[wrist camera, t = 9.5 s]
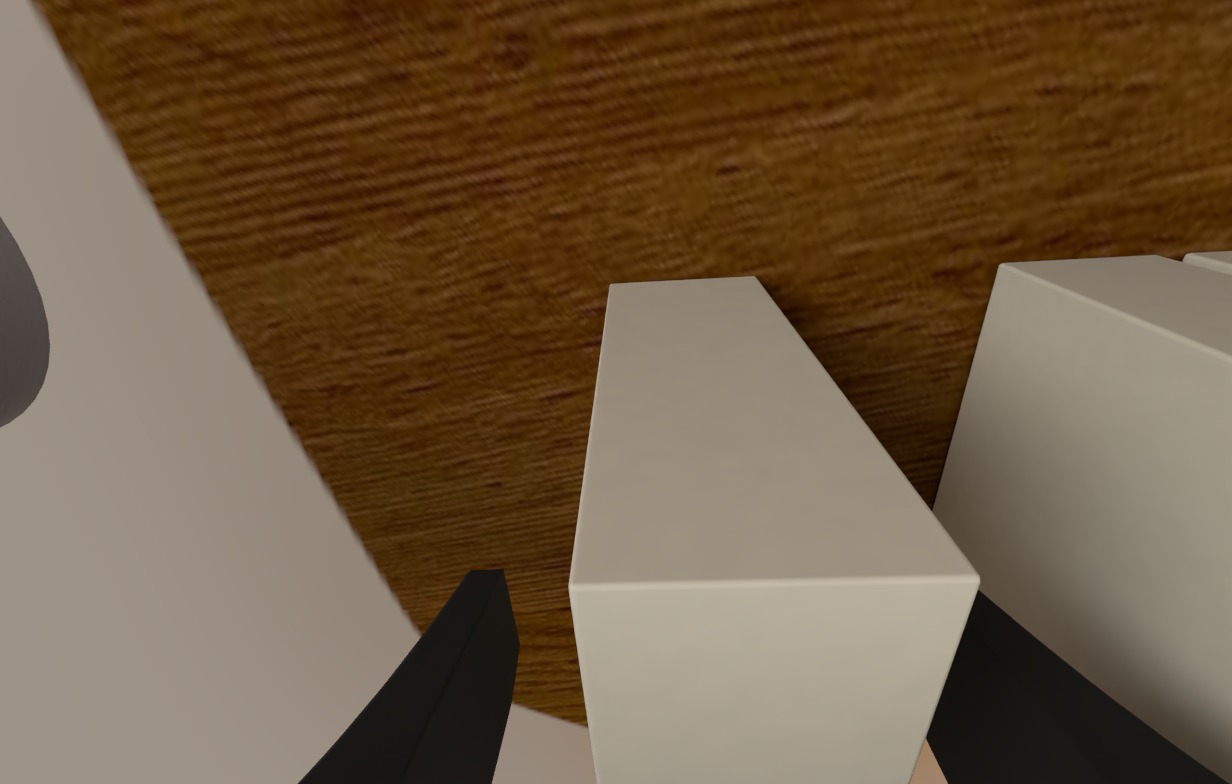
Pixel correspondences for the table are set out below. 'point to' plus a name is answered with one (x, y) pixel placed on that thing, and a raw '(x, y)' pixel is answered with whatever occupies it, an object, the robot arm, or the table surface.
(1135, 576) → the white book
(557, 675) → the table surface
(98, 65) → the table surface
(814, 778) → the white book
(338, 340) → the table surface
